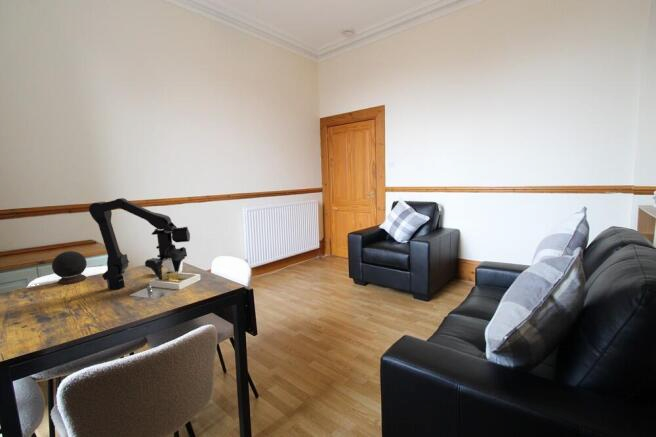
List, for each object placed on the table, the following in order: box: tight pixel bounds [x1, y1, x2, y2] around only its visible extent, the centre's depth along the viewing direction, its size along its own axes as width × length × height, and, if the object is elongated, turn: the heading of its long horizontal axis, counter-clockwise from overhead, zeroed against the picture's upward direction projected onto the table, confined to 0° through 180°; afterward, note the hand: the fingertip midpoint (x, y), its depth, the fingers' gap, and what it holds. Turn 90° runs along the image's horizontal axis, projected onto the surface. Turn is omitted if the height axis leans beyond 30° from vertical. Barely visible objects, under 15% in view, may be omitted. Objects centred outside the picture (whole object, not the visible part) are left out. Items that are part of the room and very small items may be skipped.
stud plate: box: [129, 285, 175, 300], centre depth 132 cm, size 16×9×4 cm, turn 71°
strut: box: [161, 270, 187, 283], centre depth 144 cm, size 12×5×5 cm, turn 71°
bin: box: [148, 272, 201, 290], centre depth 144 cm, size 17×13×4 cm
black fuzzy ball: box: [51, 250, 88, 286], centre depth 154 cm, size 13×13×15 cm
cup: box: [164, 259, 184, 273], centre depth 162 cm, size 10×10×11 cm
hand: (169, 276), depth 145 cm, fingers open, 9 cm apart
